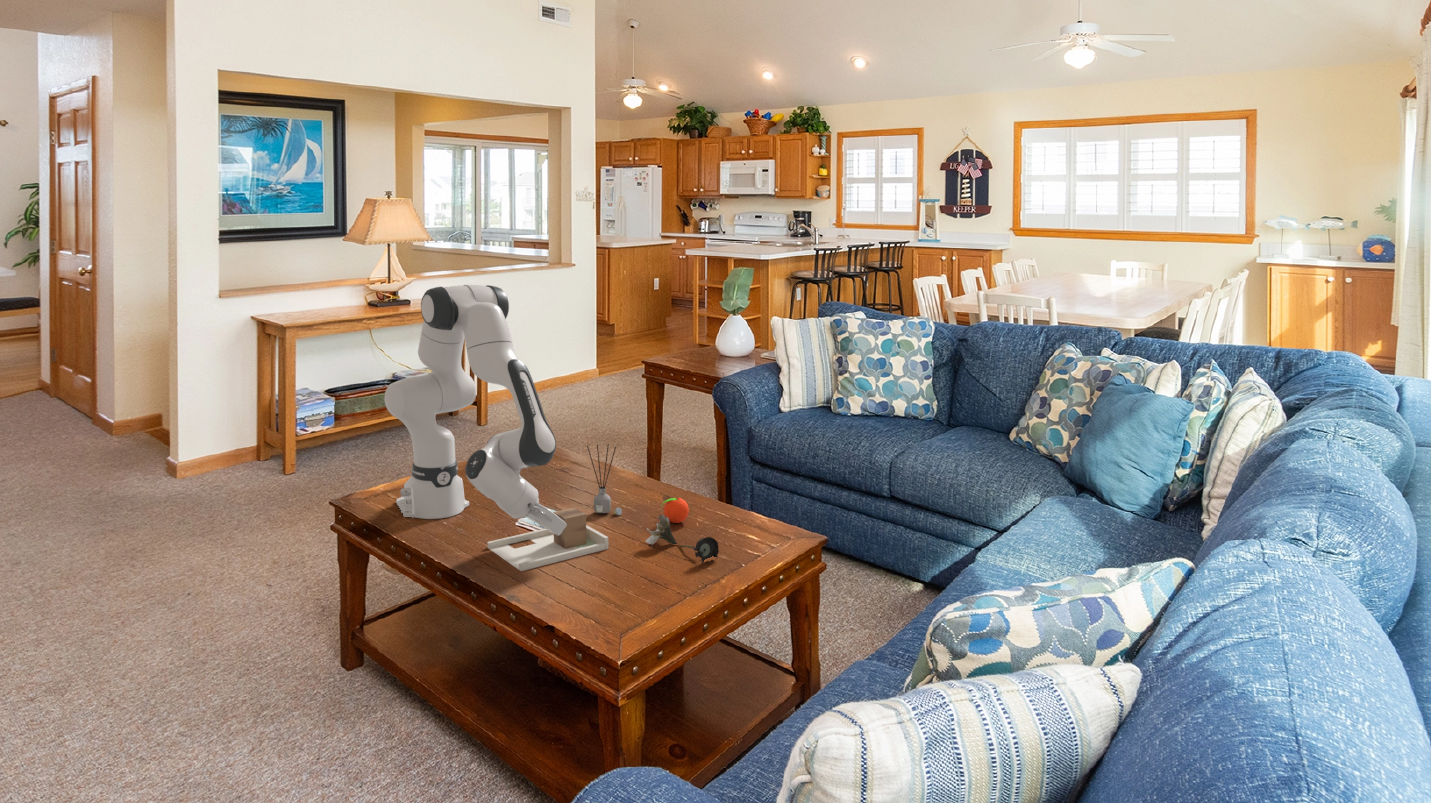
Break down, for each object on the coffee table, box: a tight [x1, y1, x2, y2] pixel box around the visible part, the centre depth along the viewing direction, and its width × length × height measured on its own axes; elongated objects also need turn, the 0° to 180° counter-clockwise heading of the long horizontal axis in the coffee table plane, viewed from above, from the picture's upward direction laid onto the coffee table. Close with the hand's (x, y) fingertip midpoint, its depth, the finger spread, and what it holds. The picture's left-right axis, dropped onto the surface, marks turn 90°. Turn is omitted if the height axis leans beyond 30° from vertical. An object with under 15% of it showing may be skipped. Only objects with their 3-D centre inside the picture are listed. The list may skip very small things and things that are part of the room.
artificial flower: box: [645, 514, 720, 564], centre depth 232 cm, size 9×22×10 cm, turn 37°
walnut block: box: [552, 507, 587, 549], centre depth 231 cm, size 6×6×8 cm
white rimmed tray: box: [486, 524, 609, 572], centre depth 228 cm, size 18×24×4 cm
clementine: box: [659, 497, 690, 524], centre depth 252 cm, size 8×7×7 cm
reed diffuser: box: [586, 443, 623, 516], centre depth 257 cm, size 10×7×20 cm
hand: (556, 529), depth 229 cm, fingers closed
